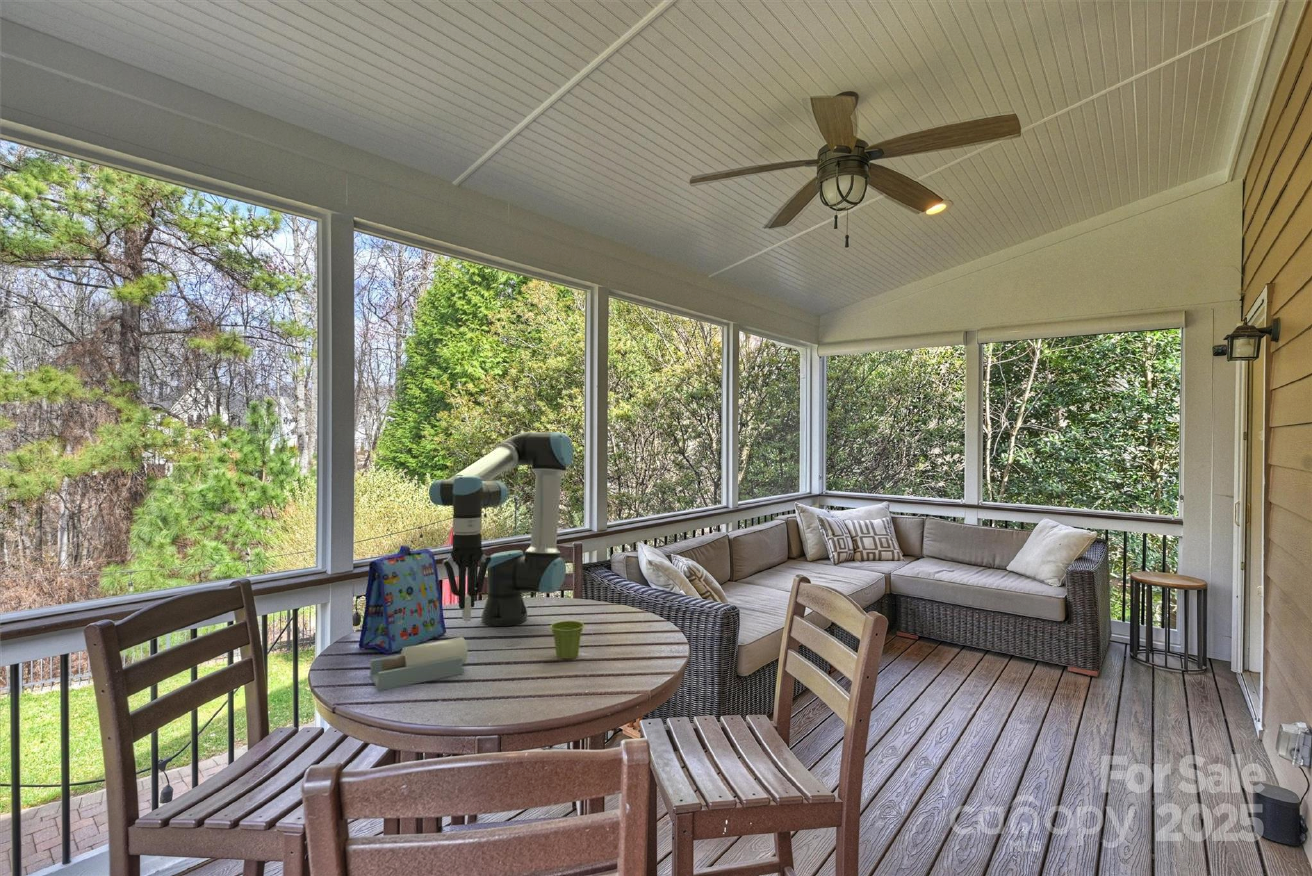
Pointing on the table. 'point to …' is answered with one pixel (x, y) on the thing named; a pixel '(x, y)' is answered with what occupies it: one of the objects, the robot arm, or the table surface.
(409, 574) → the lunch bag
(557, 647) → the plant pot
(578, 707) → the table surface
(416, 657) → the cream bottle
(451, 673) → the grey-green cradle
